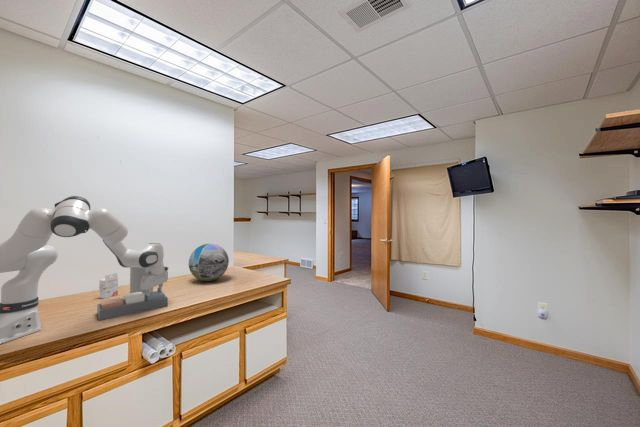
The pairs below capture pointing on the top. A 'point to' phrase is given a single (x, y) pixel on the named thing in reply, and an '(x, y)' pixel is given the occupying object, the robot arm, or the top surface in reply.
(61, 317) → the top surface
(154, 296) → the slate key
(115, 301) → the terracotta key
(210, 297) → the top surface
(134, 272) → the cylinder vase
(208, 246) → the grey textured ball
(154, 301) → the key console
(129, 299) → the white key
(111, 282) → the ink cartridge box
